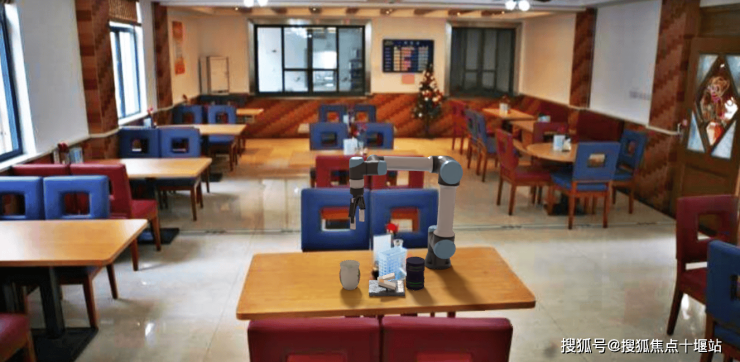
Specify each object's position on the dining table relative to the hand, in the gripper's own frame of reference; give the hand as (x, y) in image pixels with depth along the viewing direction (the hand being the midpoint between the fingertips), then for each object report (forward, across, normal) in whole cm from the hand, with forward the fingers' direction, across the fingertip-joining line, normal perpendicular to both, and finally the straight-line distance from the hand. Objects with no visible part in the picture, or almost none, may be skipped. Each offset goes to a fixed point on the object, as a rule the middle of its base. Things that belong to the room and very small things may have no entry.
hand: (357, 225), depth 305 cm
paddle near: (+25, +15, +21) cm, 35 cm away
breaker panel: (+30, +11, +20) cm, 37 cm away
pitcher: (+30, +14, 0) cm, 33 cm away
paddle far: (+25, +8, +18) cm, 32 cm away
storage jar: (+30, +3, +32) cm, 44 cm away
